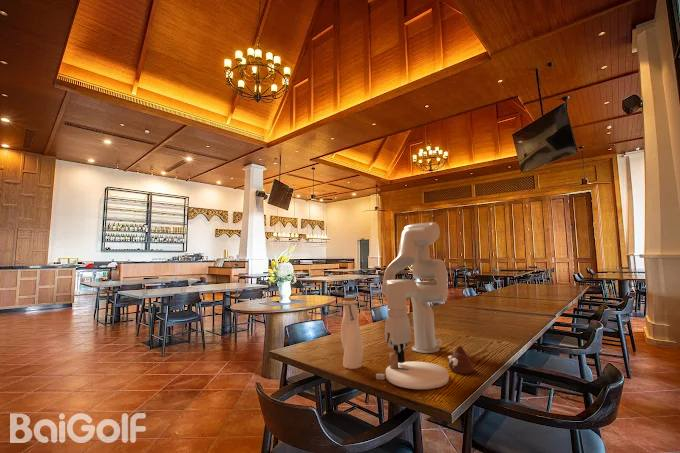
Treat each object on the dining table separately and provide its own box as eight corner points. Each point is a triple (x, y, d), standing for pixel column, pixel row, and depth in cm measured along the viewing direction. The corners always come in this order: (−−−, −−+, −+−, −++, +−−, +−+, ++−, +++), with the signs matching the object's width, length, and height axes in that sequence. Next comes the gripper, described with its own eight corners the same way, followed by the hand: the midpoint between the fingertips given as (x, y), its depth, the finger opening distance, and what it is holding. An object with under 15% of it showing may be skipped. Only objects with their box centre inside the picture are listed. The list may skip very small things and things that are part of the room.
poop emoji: (478, 374, 117) (476, 347, 118) (457, 376, 115) (455, 349, 116) (464, 365, 126) (462, 341, 127) (444, 367, 125) (442, 343, 126)
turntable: (454, 371, 118) (453, 352, 118) (440, 394, 99) (438, 370, 100) (398, 363, 129) (397, 345, 130) (376, 382, 110) (375, 361, 111)
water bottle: (368, 368, 127) (364, 297, 130) (346, 371, 124) (344, 299, 127) (359, 361, 137) (356, 295, 140) (339, 364, 134) (336, 296, 137)
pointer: (384, 378, 116) (384, 373, 116) (384, 379, 115) (384, 375, 115) (376, 378, 116) (376, 373, 117) (376, 379, 115) (376, 375, 115)
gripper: (404, 309, 130) (407, 355, 129) (376, 314, 122) (378, 363, 120) (418, 311, 124) (421, 360, 122) (389, 316, 116) (392, 368, 114)
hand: (400, 361), depth 121 cm, fingers closed
